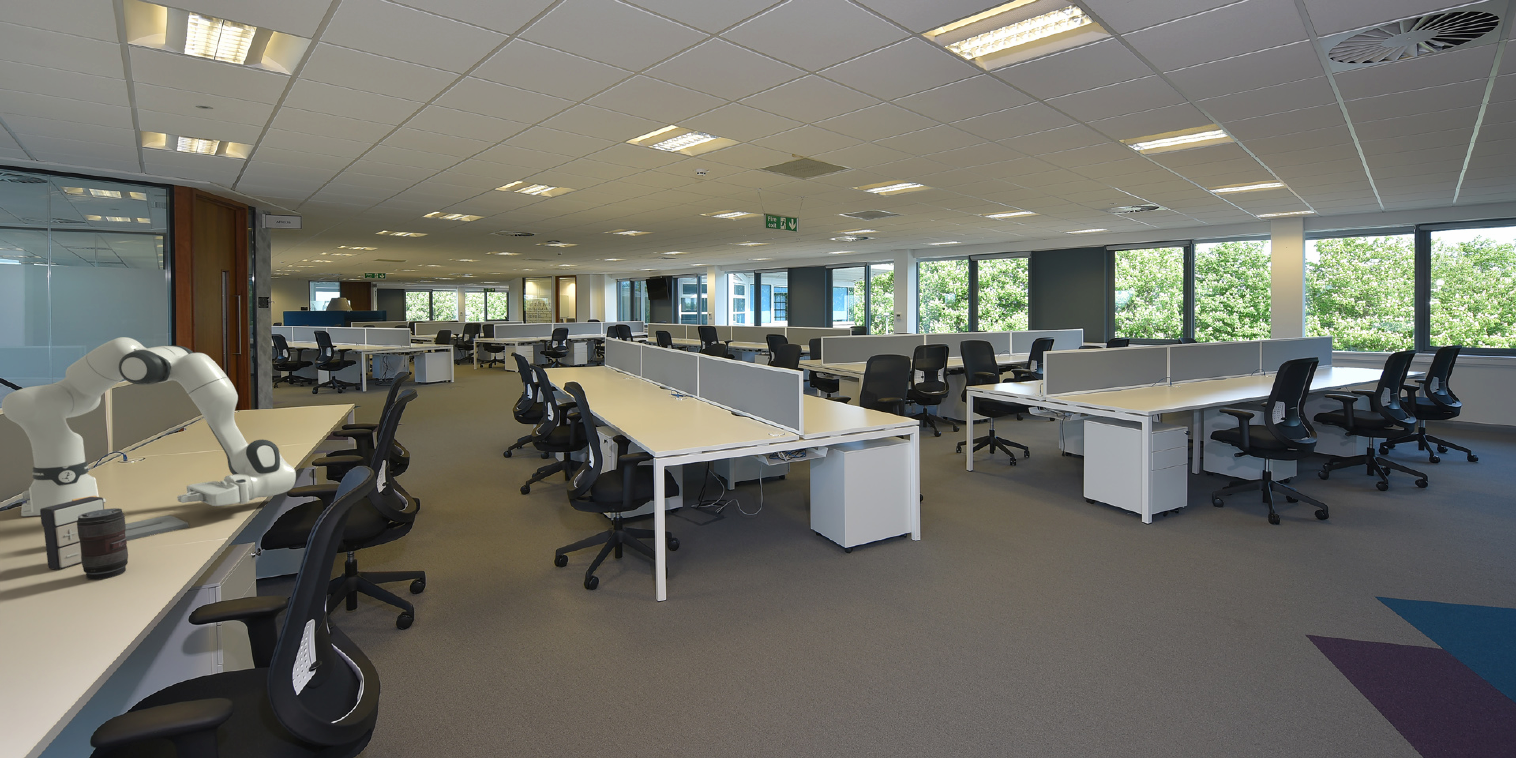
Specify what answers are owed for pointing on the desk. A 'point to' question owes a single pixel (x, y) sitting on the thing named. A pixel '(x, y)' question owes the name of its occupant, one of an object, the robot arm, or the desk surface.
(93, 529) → the camera lens
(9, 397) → the robot arm
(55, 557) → the calculator
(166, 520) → the fader console
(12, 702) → the desk surface
